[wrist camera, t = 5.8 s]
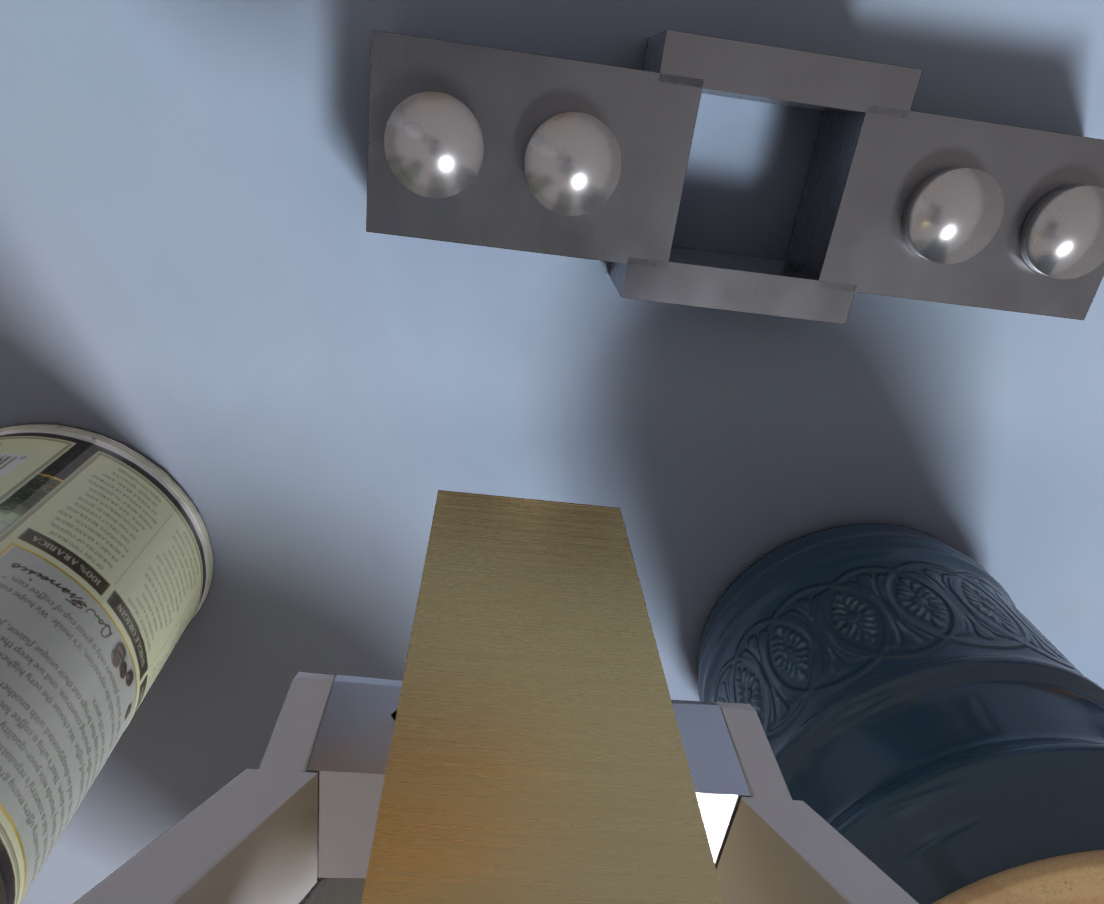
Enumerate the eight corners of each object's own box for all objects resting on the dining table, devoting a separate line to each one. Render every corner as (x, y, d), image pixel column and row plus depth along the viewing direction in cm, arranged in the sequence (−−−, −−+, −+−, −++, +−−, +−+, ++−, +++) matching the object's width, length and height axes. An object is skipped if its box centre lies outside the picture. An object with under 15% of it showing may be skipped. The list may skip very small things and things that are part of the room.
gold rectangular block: (438, 490, 13) (311, 1165, 5) (619, 507, 13) (795, 1167, 5) (425, 637, 14) (310, 1360, 6) (590, 650, 14) (693, 1351, 6)
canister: (1039, 648, 33) (1538, 1166, 17) (795, 794, 36) (1020, 1344, 20) (893, 453, 28) (1388, 909, 12) (629, 640, 31) (749, 1193, 16)
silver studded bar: (389, -2, 21) (367, -20, 18) (1099, 108, 23) (1194, 109, 20) (381, 248, 24) (361, 271, 21) (1012, 325, 26) (1083, 356, 23)
